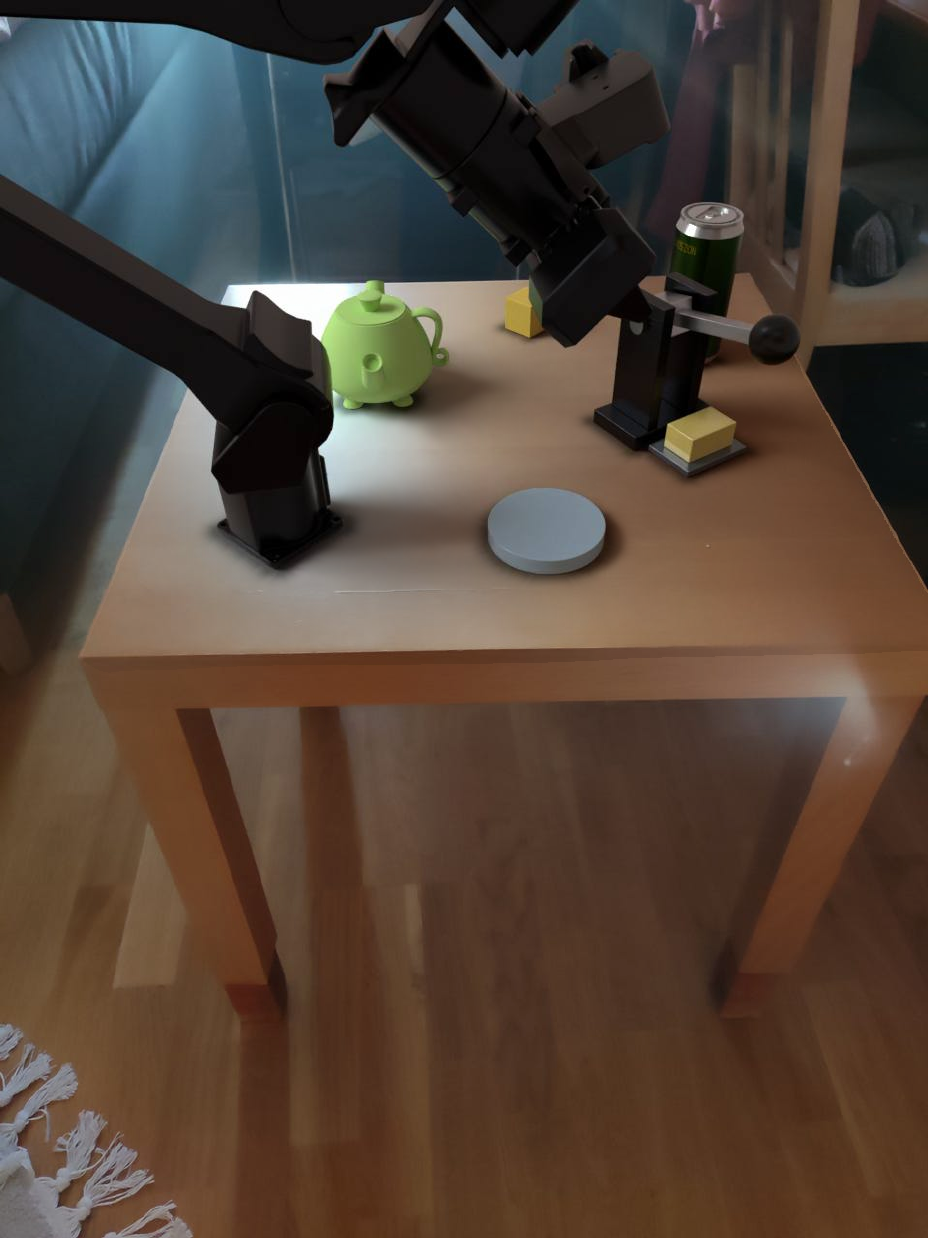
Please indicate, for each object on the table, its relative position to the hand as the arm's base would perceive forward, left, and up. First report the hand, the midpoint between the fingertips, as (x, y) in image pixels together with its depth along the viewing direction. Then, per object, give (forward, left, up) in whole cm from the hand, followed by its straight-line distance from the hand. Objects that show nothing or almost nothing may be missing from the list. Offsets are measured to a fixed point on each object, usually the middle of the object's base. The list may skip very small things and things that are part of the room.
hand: (645, 315), depth 55 cm
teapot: (-2, +25, -14) cm, 28 cm away
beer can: (+21, +8, -14) cm, 26 cm away
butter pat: (+16, +22, -14) cm, 30 cm away
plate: (-7, +1, -14) cm, 16 cm away
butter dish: (+8, -1, -14) cm, 16 cm away
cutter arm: (+8, -1, -5) cm, 10 cm away
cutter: (+10, +4, -14) cm, 17 cm away
